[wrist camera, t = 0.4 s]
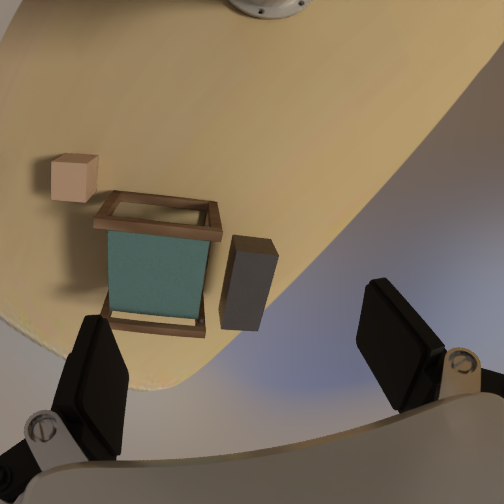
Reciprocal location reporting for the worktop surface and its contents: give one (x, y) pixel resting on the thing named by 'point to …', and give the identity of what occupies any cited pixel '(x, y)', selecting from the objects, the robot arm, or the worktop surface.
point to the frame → (207, 232)
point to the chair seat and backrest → (188, 277)
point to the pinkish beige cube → (74, 177)
